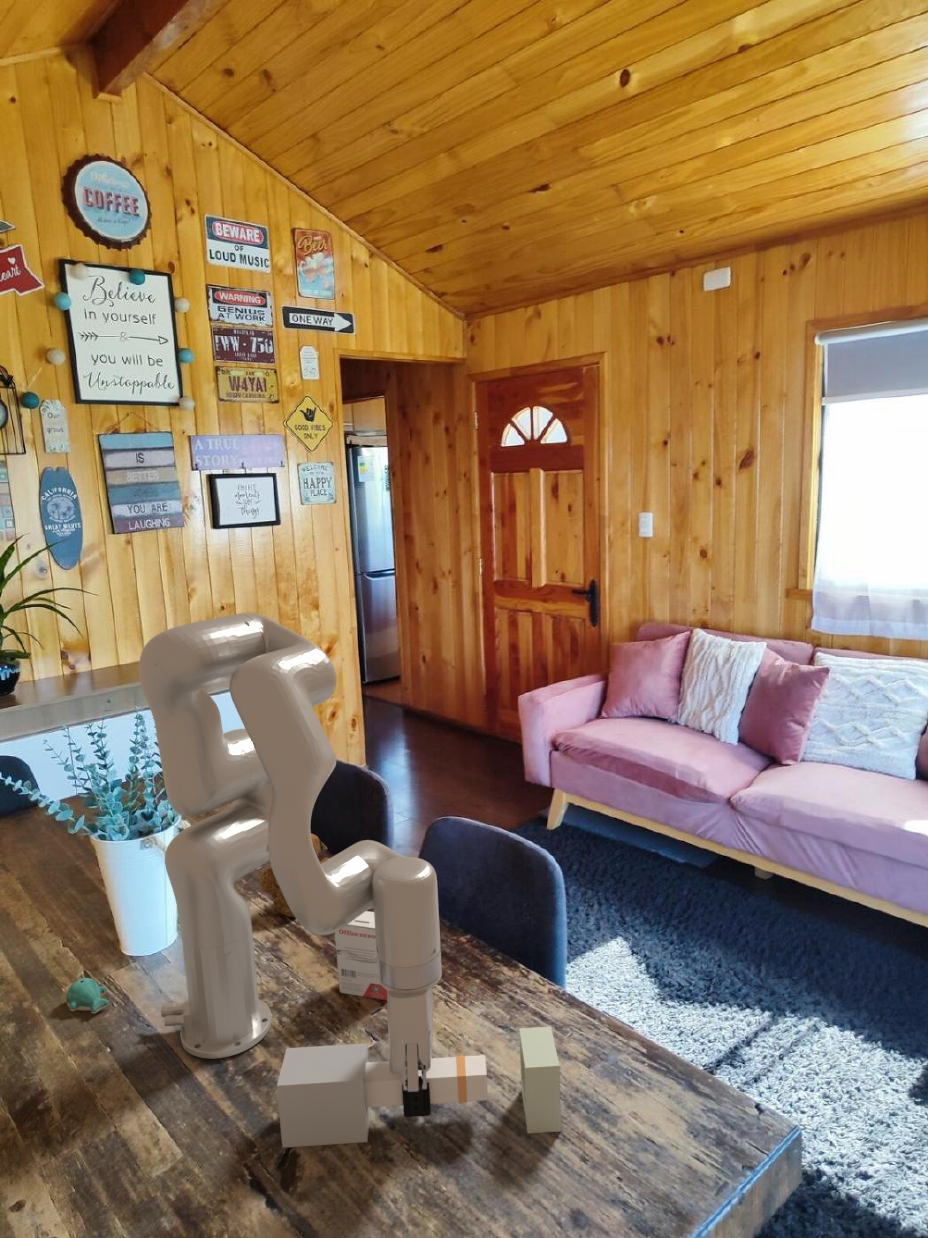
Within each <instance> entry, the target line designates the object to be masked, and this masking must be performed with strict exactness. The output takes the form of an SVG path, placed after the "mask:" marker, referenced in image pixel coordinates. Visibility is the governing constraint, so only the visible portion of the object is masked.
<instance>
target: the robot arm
mask: <svg viewBox="0 0 928 1238" xmlns="http://www.w3.org/2000/svg"><path fill="white" fill-rule="evenodd" d="M336 672H337V671H336V669H335V666H334V664H333V662H332V660H331V659H330V657H329V656H328V655H327V654H326V653H325V652H324V651H323V650H322V648H320V646H318V645H317V644H316V643H313V642H312V641H311V640H310V639H307V638H306V637H305V636H303V635H301V634H299V633H298V632H295V631H293V630H292V629H290V628H288V627H286V626H285V625H282V624H281V623H278V622H276V621H275V620H273V619H271V618H269V617H266V616H264V615H262V614H259V613H253V612H241V613H234V614H231V615H226V616H221V617H217V618H210V619H205V620H200V621H199V620H198V621H195V622H194V621H193V622H191V623H190V622H189V623H186V624H182V625H178V626H175V627H172V628H169V629H166V630H164V631H161V632H160V633H158V634H156V635H154V636H153V637H151V639H150V640H148V642H147V643H146V644H145V645H144V648H143V649H142V651H141V654H140V657H139V663H138V675H139V676H138V677H139V681H140V682H139V683H140V686H141V690H142V692H143V695H144V697H145V700H146V702H147V705H148V707H149V710H150V712H151V715H152V718H153V721H154V726H155V731H156V741H157V745H158V752H159V757H160V758H159V759H160V764H161V769H162V777H163V781H164V782H163V783H164V788H165V792H166V797H167V800H168V803H169V805H170V806H171V809H172V810H173V811H174V812H175V813H177V814H178V815H179V816H182V817H187V818H189V817H191V818H192V817H198V816H200V815H205V814H207V813H210V812H213V811H215V810H217V809H220V808H223V807H224V806H227V805H228V804H231V803H232V804H231V805H232V806H231V807H228V808H226V809H225V810H223V811H221V812H217V813H215V814H213V815H211V816H208V817H206V818H204V819H202V820H200V821H198V822H196V823H193V824H192V825H190V826H188V827H186V828H184V829H183V830H182V831H180V832H179V833H178V834H176V835H175V837H173V838H172V840H171V841H170V842H169V844H168V845H167V847H166V850H165V853H164V866H165V870H166V874H167V877H168V880H169V883H170V886H171V888H172V892H173V895H174V899H175V903H176V907H177V908H176V909H177V913H178V920H179V928H180V929H179V930H180V938H181V943H182V945H181V946H182V951H183V961H184V962H183V963H184V971H185V981H186V988H187V990H186V991H187V997H188V999H184V1001H183V1002H163V1003H162V1005H161V1009H160V1015H161V1018H164V1020H163V1021H164V1027H175V1026H180V1027H181V1030H180V1043H181V1046H182V1047H183V1049H184V1051H186V1052H187V1053H188V1054H189V1055H192V1056H194V1057H198V1058H200V1059H201V1058H202V1059H209V1060H210V1059H211V1060H212V1059H223V1058H228V1057H232V1056H235V1055H238V1054H240V1053H243V1052H245V1051H248V1050H249V1049H251V1048H253V1047H254V1046H255V1045H257V1044H258V1043H260V1041H261V1040H263V1038H265V1037H266V1035H267V1033H268V1032H269V1031H270V1028H271V1026H272V1020H273V1019H272V1012H271V1009H270V1007H269V1005H268V1004H266V1002H264V1001H263V1000H261V999H259V989H258V978H257V977H258V976H257V968H256V967H257V966H256V957H255V955H256V954H255V945H254V935H253V925H252V915H251V909H250V907H249V905H248V902H247V900H246V898H244V897H243V896H242V895H241V894H239V892H237V890H236V888H235V883H236V882H237V881H238V880H240V879H241V878H243V877H244V876H246V875H247V874H249V873H251V872H253V871H254V870H257V869H258V868H260V867H262V866H263V865H265V864H267V863H268V862H269V863H270V867H272V870H273V873H274V876H275V878H276V880H277V882H278V884H279V887H280V889H281V891H282V893H283V895H284V897H285V899H286V901H287V904H288V906H289V907H290V909H291V911H292V913H293V914H294V916H295V917H294V918H295V919H296V920H297V922H298V923H299V924H300V925H301V926H302V927H303V928H304V929H305V930H307V931H308V932H309V933H311V934H315V935H318V936H328V935H332V934H335V932H337V931H338V930H340V929H342V928H343V927H345V926H346V925H347V924H349V923H350V922H351V921H353V920H354V919H356V918H357V917H358V916H360V915H361V914H362V913H364V912H365V911H368V910H371V909H373V912H374V918H375V933H376V948H377V964H378V978H379V983H380V984H381V986H382V987H383V988H385V989H386V990H387V1001H386V1002H387V1003H386V1006H387V1011H386V1013H387V1030H388V1031H387V1033H388V1034H387V1035H388V1055H389V1057H388V1059H389V1060H388V1061H389V1062H390V1072H391V1073H392V1074H398V1073H400V1072H401V1069H403V1084H402V1095H403V1105H402V1108H403V1109H402V1110H403V1116H404V1117H405V1118H415V1117H416V1118H417V1117H428V1116H431V1114H432V1111H431V1110H432V1109H431V1104H430V1089H429V1083H427V1075H426V1072H427V1071H428V1070H429V1069H430V1068H431V1058H432V1055H433V1037H434V994H433V993H434V992H433V988H434V987H435V986H436V985H437V984H438V983H439V982H440V980H441V978H442V976H443V970H442V953H441V952H442V948H441V933H440V932H441V930H440V915H439V912H440V911H439V895H438V894H439V892H438V891H439V890H438V880H437V879H438V877H437V873H436V870H435V868H434V866H432V864H431V863H430V862H428V861H426V860H424V859H423V858H418V857H416V856H415V857H414V856H404V855H402V854H400V853H398V852H396V851H395V850H393V849H392V848H390V847H388V846H387V845H385V844H382V843H381V842H378V841H375V840H371V839H366V840H359V841H358V842H355V843H353V844H352V845H350V846H348V847H347V848H345V849H344V850H342V851H340V852H339V853H337V854H335V855H333V856H332V857H330V858H329V859H328V860H327V861H325V862H323V863H322V864H320V859H319V858H318V856H317V855H316V853H315V850H314V847H313V843H312V839H311V832H312V831H311V820H312V814H313V810H314V807H315V803H316V801H317V799H318V796H320V795H319V794H321V791H322V790H323V789H322V788H323V787H324V785H325V784H326V782H327V781H328V779H329V777H330V776H331V774H332V773H333V771H334V769H335V768H336V765H337V756H336V753H335V751H334V749H333V746H332V745H331V743H330V741H329V739H328V736H327V734H326V732H325V730H324V728H323V726H322V723H321V721H320V720H319V718H318V716H317V713H316V712H315V709H314V707H316V706H319V705H321V704H324V703H325V702H327V701H328V700H330V699H331V697H332V696H333V695H334V693H335V691H336V688H337V681H338V679H337V673H336ZM228 681H229V685H228V689H229V694H230V698H231V700H232V703H233V705H234V707H235V709H236V711H237V714H238V716H239V718H240V721H241V722H242V724H243V727H244V728H237V729H233V730H230V731H227V732H224V731H223V725H222V724H223V723H222V716H221V712H220V709H219V706H218V705H217V703H216V702H215V700H214V699H213V698H212V696H211V694H209V693H208V692H207V691H206V690H205V688H204V687H208V686H211V685H214V684H219V683H223V682H228ZM406 1060H407V1061H406ZM418 1070H422V1077H421V1076H419V1075H418Z"/></svg>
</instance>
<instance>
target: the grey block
mask: <svg viewBox="0 0 928 1238" xmlns="http://www.w3.org/2000/svg"><path fill="white" fill-rule="evenodd" d="M366 1062H370V1061H369V1048H368V1043H367V1042H365V1043H352V1044H335V1045H332V1044H331V1045H318V1046H301V1047H299V1046H298V1047H287V1048H286V1049H285V1053H284V1057H283V1060H282V1063H281V1064H282V1065H281V1068H280V1073H279V1076H278V1080H277V1083H276V1093H277V1102H278V1113H279V1124H280V1135H281V1137H280V1138H281V1145H282V1146H281V1147H282V1148H296V1147H297V1148H298V1147H299V1148H300V1147H311V1146H325V1145H326V1146H327V1145H341V1144H343V1145H344V1144H345V1145H346V1144H354V1143H356V1144H357V1143H358V1144H359V1143H368V1139H369V1130H370V1119H371V1110H372V1107H371V1108H366V1102H365V1088H364V1078H365V1069H366Z"/></svg>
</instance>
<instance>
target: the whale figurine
mask: <svg viewBox="0 0 928 1238" xmlns="http://www.w3.org/2000/svg"><path fill="white" fill-rule="evenodd" d="M106 993H107V987H106V986H100V985H99V984H98V983H97V981H96V980H94V979H93V978H89V977H84V978H80V979H78V980H76V981H74V982H73V983H71V985H70V986H69V988H68V990H67V992H66V1004H67V1006H68V1008H69V1011H71V1012H74V1011H84V1012H85V1011H87V1012H88V1011H90V1013H91V1014H96V1013H98V1012H100V1011H101V1010H103V1009H105V1008H107V1007H109V1005H110V1000H108V999H106V998H103V997H102V996H103V995H105V994H106Z"/></svg>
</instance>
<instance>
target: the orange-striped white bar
mask: <svg viewBox="0 0 928 1238" xmlns="http://www.w3.org/2000/svg"><path fill="white" fill-rule="evenodd" d="M406 1061H407V1060H406ZM418 1075H419V1076H421V1077H422V1070H418ZM426 1075H427V1083H429V1089H430V1105H432V1104H447V1103H459V1104H462V1103H464V1104H465V1103H468V1102H475V1101H488V1100H489V1098H488V1097H489V1096H488V1093H489V1092H488V1073H487V1061H486V1054H482V1055H481V1054H480V1055H467V1056H466V1055H465V1054H464V1055H462V1054H461V1055H456V1056H449V1057H448V1056H447V1057H446V1056H445V1057H433V1058H432V1057H431V1068H430V1069H429V1070H428V1071H427V1072H426ZM402 1084H403V1069H401V1072H400V1073H398V1074H392V1073H391V1072H390V1062H389V1060H386V1061H385V1060H384V1061H369V1062H366V1069H365V1078H364V1088H365V1102H366V1108H371V1109H372V1108H383V1107H400V1106H401V1107H403V1095H402Z"/></svg>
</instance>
